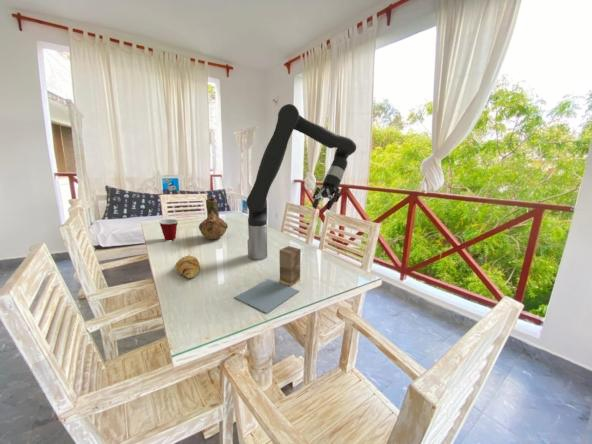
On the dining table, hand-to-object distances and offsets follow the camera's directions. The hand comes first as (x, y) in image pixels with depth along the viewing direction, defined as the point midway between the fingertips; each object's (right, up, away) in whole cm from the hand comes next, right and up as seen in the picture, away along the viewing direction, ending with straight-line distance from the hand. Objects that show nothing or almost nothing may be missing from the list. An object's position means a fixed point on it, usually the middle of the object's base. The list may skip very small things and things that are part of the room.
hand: (320, 208), depth 117 cm
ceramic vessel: (-62, -17, +43) cm, 78 cm away
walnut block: (-14, -31, -11) cm, 35 cm away
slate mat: (-22, -33, -22) cm, 45 cm away
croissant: (-60, -29, -2) cm, 66 cm away
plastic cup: (-89, -17, +41) cm, 100 cm away
